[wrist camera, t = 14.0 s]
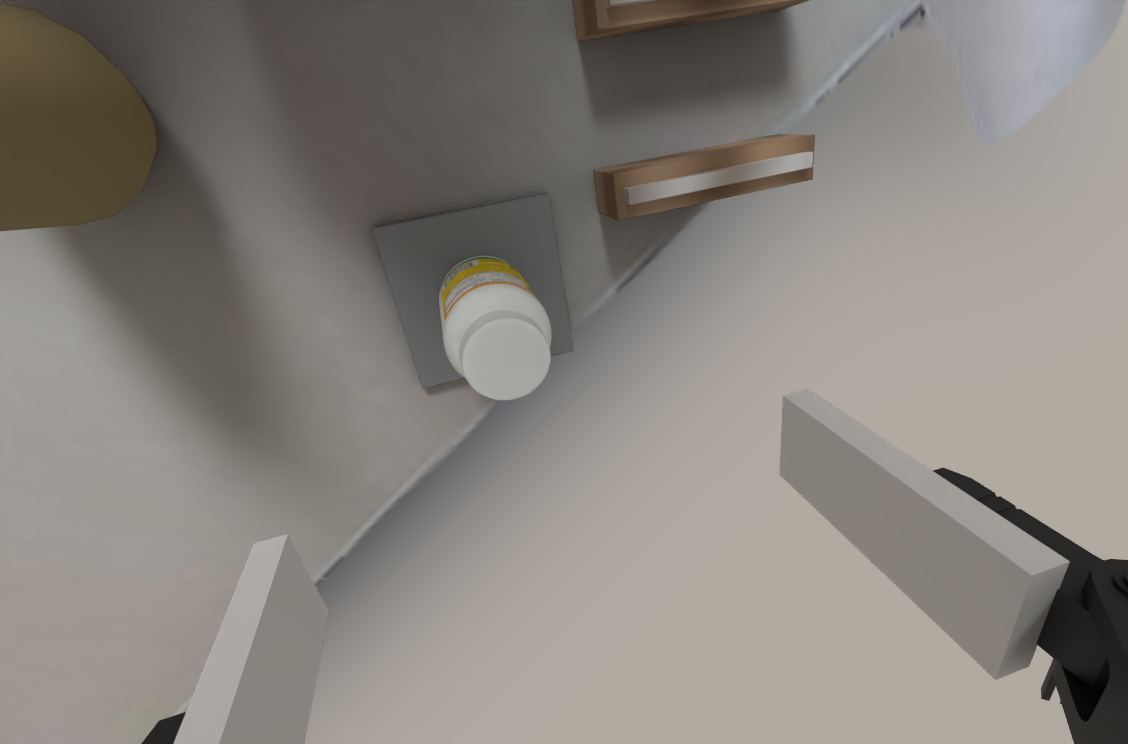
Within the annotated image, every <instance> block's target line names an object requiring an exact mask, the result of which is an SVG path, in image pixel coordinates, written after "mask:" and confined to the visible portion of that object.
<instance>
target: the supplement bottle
mask: <svg viewBox="0 0 1128 744" xmlns="http://www.w3.org/2000/svg"><path fill="white" fill-rule="evenodd" d="M439 307H440V316H441V324H442V334H443V343H444V348H445V351H446V355H447V357H448V359H449V361H450V363H451V364H452V366H453V367H454V368H455V370H456V371H457V372H458V373H459V374H460V375H462V376H463V377H464V378H466V380H467V381H468V383H469V384H470V385H471V387H472V388H473V389H474V390H476V391H477V392H478V393H480V394H481V395H483V396H485V397H488V398H491V399H495V400H513V399H517V398H520V397H523V396H525V395H527V394H529V393H531V392H532V391H533V390H535V389H536V388H537V387H538V386H539V385H540V384H541V383H542V381H543V380H544V378H545V376H546V375H547V373H548V369H549V366H550V359H551V353H550V345H551V338H552V333H551V325H550V321H549V318H548V315H547V313H546V311H545V309H544V307H543V306H542V304H541V303H540V301H539V300H538V299H537V297H536V296H535V294H534V293H533V291H532V290H531V289H530V287H529V286H528V284H527V283H526V281H525V280H524V279H523V277H522V276H521V275H520V273H519V272H518V271H517V270H516V269H515V268H514V267H513V266H512V265H511V264H510V263H508V262H506V261H504V260H502V259H500V258H497V257H492V256H476V257H471V258H468V259H466V260H464V261H462V262H460V263H458V264H457V265H456V266H454V267H453V268H452V269H451V270H450V271H449V272H448V274H447V275H446V277H445V278H444V280H443V282H442V285H441V288H440V292H439Z"/></svg>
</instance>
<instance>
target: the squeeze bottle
mask: <svg viewBox="0 0 1128 744" xmlns="http://www.w3.org/2000/svg"><path fill="white" fill-rule="evenodd" d="M157 147H158V142H157V136H156V130H155V124H154V118H153V117H152V115H151V113H150V111H149V110H148V108H147V106H146V104H145V103H144V101H143V99H142V97H141V96H140V94H139V92H138V91H137V90H136V89H135V87H134V86H133V85H132V84H131V83H130V82H129V80H128V79H127V78H126V77H125V76H124V75H123V74H122V72H121V71H119V70H118V69H117V68H116V67H115V66H114V65H113V64H112V63H111V62H110V61H109V60H108V59H107V58H106V57H105V56H103V55H102V54H101V53H100V52H99V51H98V50H97V49H96V48H95V47H94V46H93V45H92V44H91V43H90V42H88V41H87V40H86V39H85V38H84V37H83V36H82V35H80V34H78V33H77V32H75V31H73V30H71V29H69V28H67V27H65V26H63V25H61V24H59V23H57V22H55V21H53V20H51V19H49V18H47V17H45V16H43V15H41V14H39V13H38V12H36V11H34V10H32V9H27V8H21V7H14V6H8V5H2V4H0V231H8V230H20V229H32V228H44V227H56V226H68V225H79V224H83V223H87V222H90V221H93V220H97V219H100V218H104V217H107V216H110V215H114V214H117V213H118V212H119V211H120V210H121V209H123V208H124V207H125V206H126V205H127V204H128V203H129V202H130V201H131V200H132V199H133V198H134V197H135V196H136V195H137V194H138V193H139V192H140V191H142V190H143V187H144V185H145V182H146V180H147V177H148V174H149V172H150V169H151V167H152V163H153V160H154V157H155V153H156V150H157Z"/></svg>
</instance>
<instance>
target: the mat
mask: <svg viewBox="0 0 1128 744" xmlns="http://www.w3.org/2000/svg"><path fill="white" fill-rule="evenodd" d="M372 230H373V234H374V237H375V240H376V243H377V246H378V249H379V253H380V256H381V259H382V262H383V265H384V269H385V272H386V275H387V278H388V281H389V284H390V288H391V291H392V294H393V297H394V300H395V303H396V307H397V310H398V313H399V316H400V319H401V322H402V326H403V329H404V332H405V335H406V338H407V342H408V345H409V348H410V351H411V354H412V357H413V361H414V364H415V367H416V370H417V373H418V376H419V380H420V383H421V386H422V388H426V387H430V386H434V385H438V384H442V383H446V382H450V381H454V380H458V379H462V378H464V377H463V376H462V375H460V374H459V373H458V372H457V371H456V370H455V368H454V367H453V366H452V364H451V363H450V361H449V359H448V357H447V355H446V351H445V348H444V343H443V334H442V324H441V316H440V307H439V292H440V288H441V285H442V282H443V280H444V278H445V277H446V275H447V274H448V272H449V271H450V270H451V269H452V268H453V267H454V266H456V265H457V264H458V263H460V262H462V261H464V260H466V259H468V258H471V257H476V256H492V257H497V258H500V259H502V260H504V261H506V262H508V263H510V264H511V265H512V266H513V267H514V268H515V269H516V270H517V271H518V272H519V273H520V275H521V276H522V277H523V279H524V280H525V281H526V283H527V284H528V286H529V287H530V289H531V290H532V291H533V293H534V294H535V296H536V297H537V299H538V300H539V301H540V303H541V304H542V306H543V307H544V309H545V311H546V313H547V315H548V318H549V321H550V325H551V333H552V338H551V345H550V353H551V356H555V355H559V354H563V353H567V352H571V351H574V350H573V343H572V337H571V331H570V325H569V318H568V312H567V306H566V300H565V293H564V287H563V281H562V275H561V269H560V262H559V256H558V250H557V244H556V237H555V231H554V225H553V219H552V213H551V206H550V200H549V194H547V193H544V194H539V195H534V196H529V197H524V198H519V199H514V200H509V201H504V202H499V203H494V204H489V205H484V206H479V207H474V208H469V209H464V210H459V211H453V212H448V213H443V214H438V215H433V216H428V217H423V218H418V219H413V220H408V221H403V222H398V223H393V224H388V225H383V226H378V227H373V228H372Z"/></svg>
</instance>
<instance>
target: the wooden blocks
mask: <svg viewBox="0 0 1128 744" xmlns="http://www.w3.org/2000/svg"><path fill="white" fill-rule="evenodd" d="M805 1H808V0H573V6H574V15H575V23H576V31H577V39H578V41H583V40H590V39H596V38H603V37H609V36H616V35H622V34H629V33H635V32H642V31H648V30H655V29H661V28H668V27H674V26H681V25H688V24H694V23H701V22H707V21H714V20H720V19H727V18H733V17H740V16H746V15H753V14H759V13H766V12H772V11H779V10H782V9H785V8H788V7H791V6H794V5H797V4H800V3H803V2H805ZM814 141H815V135H772V136H767V137H762V138H757V139H751V140H746V141H741V142H736V143H731V144H726V145H721V146H715V147H710V148H705V149H700V150H695V151H690V152H684V153H679V154H674V155H669V156H664V157H659V158H653V159H648V160H643V161H638V162H633V163H628V164H623V165H617V166H612V167H607V168H602V169H597V170H593V171H594V180H595V188H596V196H597V204H598V212H600V213H602V214H605V215H607V216H609V217H611V218H614V219H616V220H623V219H628V218H632V217H637V216H642V215H647V214H651V213H656V212H661V211H666V210H670V209H675V208H680V207H684V206H689V205H694V204H699V203H703V202H708V201H713V200H717V199H722V198H727V197H732V196H737V195H741V194H746V193H751V192H755V191H760V190H765V189H770V188H774V187H779V186H784V185H788V184H793V183H798V182H802V181H808V180H812V177H813V159H814Z"/></svg>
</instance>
